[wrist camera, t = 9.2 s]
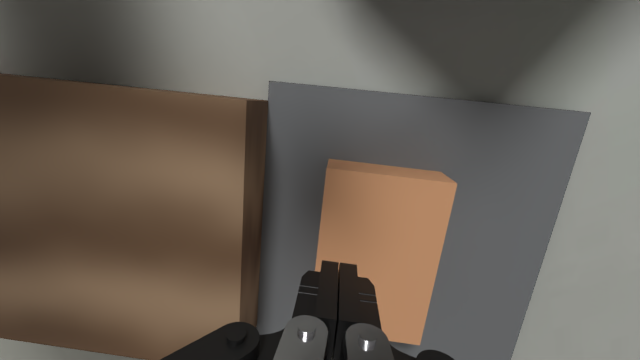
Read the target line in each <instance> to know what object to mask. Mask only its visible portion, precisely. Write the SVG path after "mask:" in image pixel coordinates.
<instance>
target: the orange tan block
mask: <svg viewBox="0 0 640 360" xmlns="http://www.w3.org/2000/svg"><path fill="white" fill-rule="evenodd" d="M456 188H457V183H456V182H455V181H453V180H452V179H450V178H449V177H448V176H446V175H445V174H443V173H442V172H439V171H430V170H421V169H413V168H404V167H396V166H387V165H379V164H370V163H362V162H353V161H345V160H336V159H329V160H328V164H327V168H326V177H325V186H324V195H323V203H322V212H321V221H320V230H319V239H318V248H317V257H316V266H315V271H318V272H320V271H321V264H322V260H325V261H333V262H339V264H340V262H341V263H348V264H356V265H357V273H358V277H364V278H368V279H369V280H370V281H371V282H372V284H373V285H374V287H375V293H376V299H377V305H378V311H379V317H380V323H381V329H382V331H383V332H384V333H385V334H386V336H387V338H388V340H389V341H393V342H400V343H407V344H413V345H420V343H421V339H422V334H423V330H424V326H425V321H426V317H427V313H428V308H429V304H430V300H431V296H432V291H433V287H434V283H435V278H436V274H437V270H438V265H439V261H440V257H441V253H442V248H443V244H444V240H445V235H446V231H447V227H448V222H449V218H450V214H451V210H452V205H453V201H454V197H455V192H456ZM338 271H339V265H338Z"/></svg>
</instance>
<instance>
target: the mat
mask: <svg viewBox="0 0 640 360" xmlns="http://www.w3.org/2000/svg"><path fill="white" fill-rule="evenodd" d="M590 114H591V112H581V111H571V110H561V109H550V108H540V107H530V106H520V105H510V104H500V103H489V102H479V101H469V100H459V99H449V98H439V97H428V96H418V95H408V94H398V93H388V92H378V91H367V90H357V89H347V88H337V87H327V86H317V85H306V84H296V83H286V82H276V81H269V94H268V114H267V134H266V154H265V174H264V193H263V213H262V233H261V253H260V273H259V292H258V312H257V330H258V332H259V335H263V334H271V333H275V332H278V331H280V330H282V329H284V328H285V326H286V324H287V323H288V321H289V320H291V319H292V315H293V311H294V307H295V303H296V299H297V294H298V290H299V286H300V282H301V278H302V276H303V275H304V274H305V273H306V272H307V271H308V270H310V271H315V266H316V257H317V248H318V239H319V230H320V221H321V212H322V203H323V195H324V186H325V177H326V168H327V164H328V160H329V159H336V160H345V161H353V162H362V163H370V164H379V165H387V166H396V167H404V168H413V169H421V170H430V171H439V172H442V173H443V174H445V175H446V176H448V177H449V178H450V179H452V180H453V181H455V182H456V183H457V188H456V192H455V197H454V201H453V205H452V210H451V214H450V218H449V222H448V227H447V231H446V235H445V240H444V244H443V248H442V253H441V257H440V261H439V265H438V270H437V274H436V278H435V283H434V287H433V291H432V296H431V300H430V304H429V308H428V313H427V317H426V321H425V326H424V330H423V334H422V339H421V343H420V345H413V344H407V343H400V342H393V341H389V343H390V345H391V346H393V347H394V348H395V349H397V350H399V351H401V352H403V353H405V354H408V355H410V356H413V357H415V358H416V357H417V355H418V354H419V353H420V352H421V351H424V350H437V351H440V352H443V353H445V354H447V355H449V356H450V357H452V358H453V359H455V360H511V357H512V354H513V351H514V348H515V345H516V342H517V339H518V336H519V333H520V329H521V326H522V323H523V320H524V317H525V314H526V311H527V308H528V305H529V302H530V299H531V296H532V293H533V290H534V286H535V283H536V280H537V277H538V274H539V271H540V268H541V265H542V262H543V259H544V256H545V253H546V250H547V246H548V243H549V240H550V237H551V234H552V231H553V228H554V225H555V222H556V219H557V216H558V213H559V210H560V206H561V203H562V200H563V197H564V194H565V191H566V188H567V185H568V182H569V179H570V176H571V173H572V170H573V166H574V163H575V160H576V157H577V154H578V151H579V148H580V145H581V142H582V139H583V136H584V133H585V130H586V126H587V123H588V120H589V117H590Z"/></svg>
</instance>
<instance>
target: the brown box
mask: <svg viewBox="0 0 640 360" xmlns="http://www.w3.org/2000/svg"><path fill="white" fill-rule="evenodd" d="M267 114H268V101H266V100H257V99H247V98H237V97H227V96H217V95H207V94H198V93H188V92H178V91H168V90H158V89H148V88H139V87H129V86H119V85H109V84H99V83H89V82H80V81H70V80H60V79H50V78H40V77H30V76H21V75H11V74H1V73H0V338H4V339H11V340H17V341H24V342H31V343H38V344H44V345H51V346H58V347H65V348H71V349H78V350H85V351H92V352H98V353H105V354H112V355H119V356H125V357H132V358H139V359H146V360H160V359H162V358H164V357H166V356H168V355H169V354H171V353H173V352H175V351H177V350H179V349H181V348H183V347H185V346H186V345H188V344H190V343H192V342H194V341H196V340H198V339H200V338H201V337H203V336H205V335H207V334H209V333H211V332H213V331H215V330H217V329H218V328H220V327H222V326H224V325H226V324H229V323H232V322H246V323H249V324H251V325H253V326H254V327H256V325H257V312H258V292H259V273H260V253H261V233H262V213H263V193H264V174H265V154H266V134H267Z"/></svg>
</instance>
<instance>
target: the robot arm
mask: <svg viewBox="0 0 640 360" xmlns="http://www.w3.org/2000/svg"><path fill="white" fill-rule="evenodd" d="M338 265H339V271H338ZM331 358H332V360H455V359H453V358H452V357H450V356H449V355H447V354H445V353H443V352H440V351H437V350H424V351H421V352H420V353H419V354H418V355H417V357H416V358H415V357H413V356H410V355H408V354H405V353H403V352H401V351H399V350H397V349H395V348H394V347H393V346H391V345H390V343H389V340H388V338H387V336H386V334H385V333H384V332H383V331H382V329H381V323H380V317H379V311H378V305H377V299H376V293H375V287H374V285H373V284H372V282H371V281H370V280H369V279H368V278H364V277H358V273H357V265H356V264H348V263H341V262H340V264H339V262H333V261H325V260H322V264H321V271H320V272H318V271H310V270H308V271H307V272H306V273H305V274H304V275H303V276H302V278H301V282H300V286H299V290H298V294H297V299H296V303H295V307H294V311H293V315H292V319H291V320H289V321H288V323H287V324H286V326H285V328H284V329H282V330H280V331H278V332H275V333H271V334H263V335H259V332H258V330H257V329H256V327H254V326H253V325H251V324H249V323H246V322H232V323H229V324H226V325H224V326H222V327H220V328H218V329H217V330H215V331H213V332H211V333H209V334H207V335H205V336H203V337H201V338H200V339H198V340H196V341H194V342H192V343H190V344H188V345H186V346H185V347H183V348H181V349H179V350H177V351H175V352H173V353H171V354H169V355H168V356H166V357H164V358H162V359H160V360H331Z"/></svg>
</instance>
